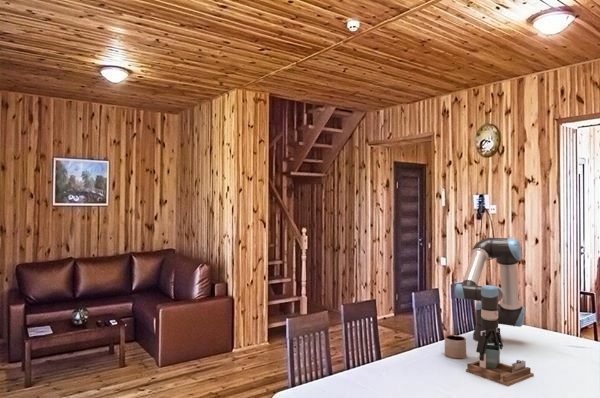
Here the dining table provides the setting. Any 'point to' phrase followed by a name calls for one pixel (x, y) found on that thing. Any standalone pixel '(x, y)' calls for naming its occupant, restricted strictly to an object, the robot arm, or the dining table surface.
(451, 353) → the planter
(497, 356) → the flower pot
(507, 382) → the frame
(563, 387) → the dining table surface
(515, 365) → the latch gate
